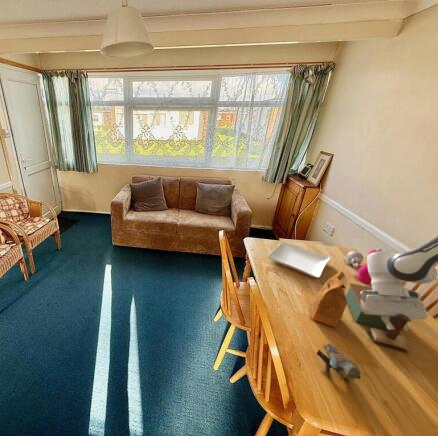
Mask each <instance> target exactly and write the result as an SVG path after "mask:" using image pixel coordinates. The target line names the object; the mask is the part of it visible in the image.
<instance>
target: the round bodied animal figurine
mask: <svg viewBox="0 0 438 436" xmlns="http://www.w3.org/2000/svg"><path fill="white" fill-rule="evenodd" d="M363 260H364V256H363V254H362V253H361V252H360V251H357V250H356V251H355V250H352V251H350V252H348V253H347V254H346V258H345V260H344V261H346V262H345V264H347V265H348V266H352V267H353V268H356V269H357V268H358V269H359V268H360V266H361V264H362V262H363Z"/></svg>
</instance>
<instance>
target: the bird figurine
mask: <svg viewBox="0 0 438 436" xmlns="http://www.w3.org/2000/svg"><path fill="white" fill-rule="evenodd" d="M326 348H327V352H326V354H324V353H323V351H322V350H320V349H317V350H316V352H315V353H316V355H317V356H318V357H319V358H320V359H321V360H322V361H323V363H325V369H324V374H325V375H328V376H330V377H331V376H332V374H331V369H332V370H334V371H335V372H337V374H338V375H340V376H341V378H344V379H346V380H355V379H357V380H360V379H361V378H362V377H361V371H360V370H359V368H358V366H357V365H356V364H355V363H354V361H353V360H352V359H350V357H348V356H346V355H344V354H342V353H340V351H338V349H337V347H335V346H333V345H332V344H331V343H327V347H326Z"/></svg>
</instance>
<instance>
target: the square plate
mask: <svg viewBox="0 0 438 436" xmlns="http://www.w3.org/2000/svg"><path fill="white" fill-rule="evenodd" d="M266 257H267V258H268V259H269V260H271V261H273V262H274V263H277V264H280V265H283V266H285V267H287V268H289V269H292V270H294V271H297V272H300V273H302V274H304V275H307V276H309V277H312V278H319V279H320V278H321V276H322V274H323V272H324V269H325V267H327V266H326V265H327V264H328V263H329V262H330V260H331V257H330V256H328V255H325V254H323V253H320V252H317V251H314V250H312V249H309V248H305V247H303V246H299V245H297V244H294V243H291V242H287V241H281V242H280V243H279V244H278V245H277V246H276V247H275V248H274V249H273V250H272V251H271V252H269V254H268V255H267V256H266Z"/></svg>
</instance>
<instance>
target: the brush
mask: <svg viewBox="0 0 438 436" xmlns="http://www.w3.org/2000/svg"><path fill="white" fill-rule="evenodd" d="M408 321H409V318H408V317H407V316H405V315H403V314H399V315H398V316H397V318H396V319H395V321H394V322H393V324H392V325H394V326H395V330H392V329H389V330H388V331H387V330H384V329H380V328H376V327H371V328H370V330H369V331H370V332H369V335H370V337H371V339H372V342H373V343H375V344H378V345H382V346H385V347H389V348H392V349H394V350H399V351H402V352H405V353H406V352H407V351H410V350H411V348H412V346H411V345H410V343H409V341H408V340H407V338H406V336H405V335H401V333H402V329H403V328H404V326H405V325H406V324H407V322H408Z"/></svg>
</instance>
